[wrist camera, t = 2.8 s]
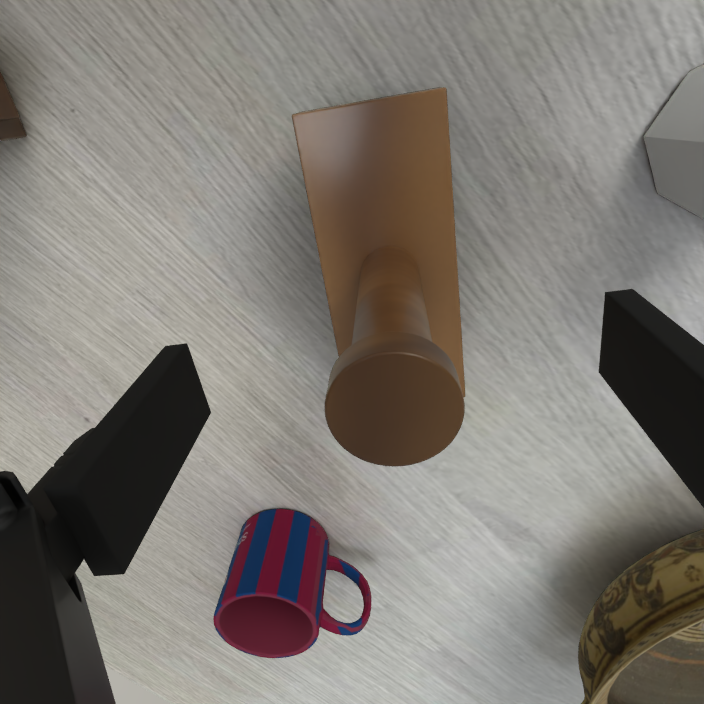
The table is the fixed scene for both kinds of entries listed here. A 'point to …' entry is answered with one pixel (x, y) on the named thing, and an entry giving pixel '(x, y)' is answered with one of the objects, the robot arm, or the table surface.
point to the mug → (281, 587)
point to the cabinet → (9, 115)
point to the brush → (388, 272)
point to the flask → (680, 145)
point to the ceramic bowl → (649, 631)
